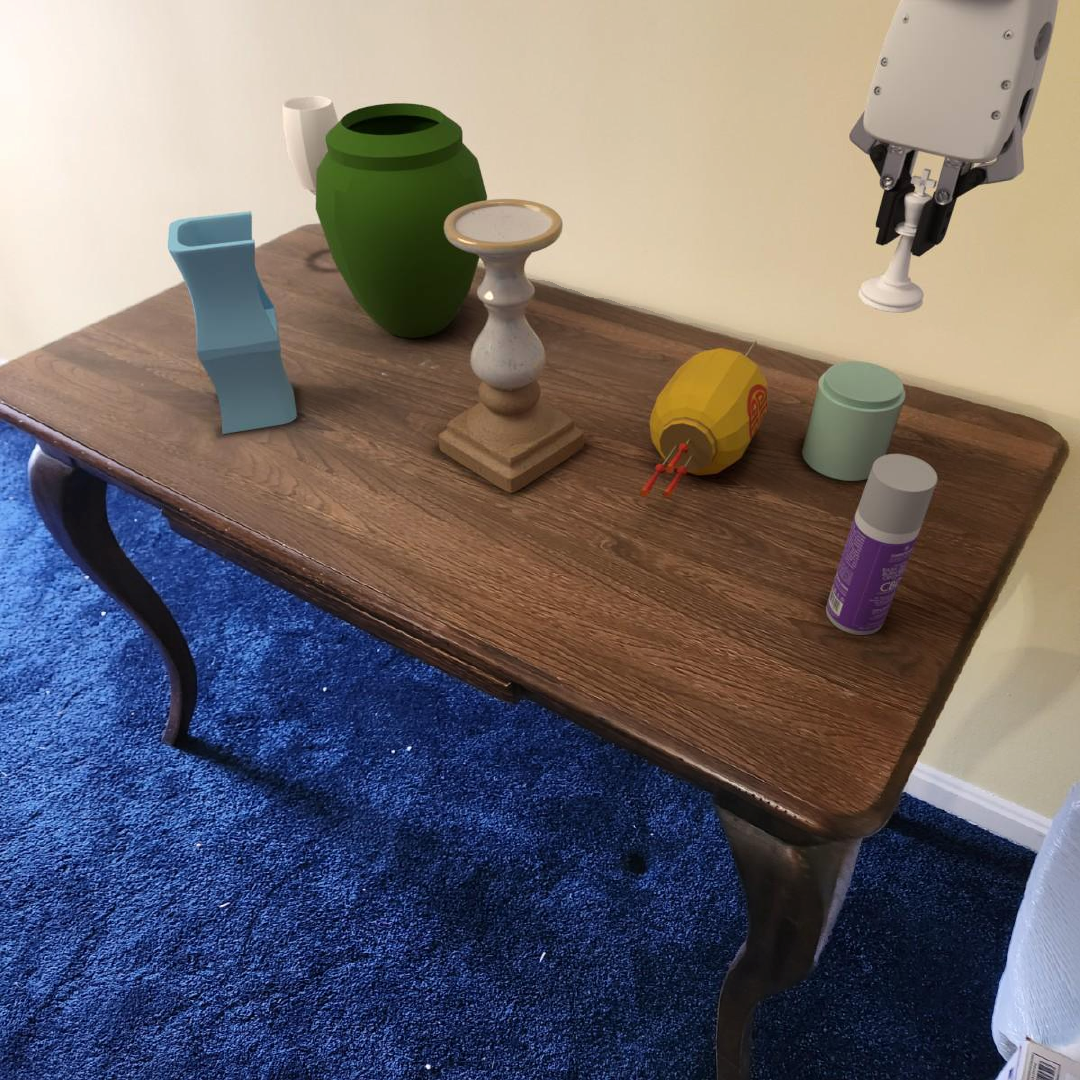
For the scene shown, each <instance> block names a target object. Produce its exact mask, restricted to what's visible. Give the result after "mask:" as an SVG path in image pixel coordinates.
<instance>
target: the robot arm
mask: <svg viewBox="0 0 1080 1080" xmlns="http://www.w3.org/2000/svg"><path fill="white" fill-rule="evenodd" d="M1058 5H1059V0H899V2H898V4H897V7H896V10H895V12H894V15H893V16H892V19H891V22H890V25H889V27H888V30H887V32H886V36H885V39H884V42H883V43H882V44H883V45H882V47H881V50H880V53H879V56H878V60H877V63H876V67H875V70H874V73H873V77H872V79H871V82H870V87H869V91H868V94H867V97H866V98H867V99H866V103H865V108H864V111H863V112H862V113H861V115H860V117H859V118H858V120H857V121H856V123H855V124H854V126H853V127H852V129H851V130H850V132H849V140H850V141H851V143H852V144H853V145H855V146H856V147H857V148H859V149H860V151H862V152H863V153H864V154H865V155H868V156H869V158H870V161H871V163H872V164H873V166H874V168H875V170H876V172H877V174H878V176H879V187H880V188H881V189H882V190H883V194H882V196H881V201H880V204H879V209H878V213H877V216H876V220H875V228H878V232H877V235H876V239H875V244H876V245H879V246H883V247H884V246H886V245H888V244H889V243H891V242H892V241H894V240H896V239H897V238H899V237H901V234H899V233H897V232H896V231H895V227H896V226H897V224H899V223H902V222H905V205H904V197H905V195H906V194H908V193H911V192H916V186H915V184H912V183H911V179H912V177H913V172H914V169H915V165H916V162H917V158H918V155H919V152H920V153H925V154H929V155H934V156H939V157H942V158H944V159H943V163H942V167H941V170H940V174H939V177H938V180H937V183H936V188H935V190H934V191H933V193H932V199H930V200H929V201H927V202H926V203H925V204H924V206H923V210H922V213H921V216H920V220H919V223H918V227H917V230H916V233H915V237H914V240H913V244H912V247H911V251H910V252H911V256H915V257H918V258H919V257H920V258H921V256H923V255H924V254H926V253H927V252H928V251H930V250H931V249H933V248H934V247H935V246H938V245H940V244H941V243H942V242H943V241H944V238H945V236H946V234H947V231H948V228H949V225H950V221H951V220H952V216H953V213H954V210H955V206H956V204H957V200H958V198H959V197H961V196H963V195H965V194H966V193H968V192H970V191H971V190H973V189H975V188H977V187H979V186H982V185H991V184H996V183H1003V182H1007V181H1008V182H1009V181H1012V180H1014V179H1015V178H1017V177H1018V176H1020V175H1021V174H1022V173H1023V172H1024V170H1025V161H1024V147H1023V145H1024V144H1023V138H1024V136H1025V134H1026V131H1027V128H1028V126H1029V123H1030V120H1031V117H1032V113H1033V111H1034V107H1035V104H1036V100H1037V97H1038V93H1039V90H1040V86H1041V83H1042V78H1043V74H1044V72H1045V68H1046V63H1047V59H1048V55H1049V51H1050V47H1051V41H1052V38H1053V33H1054V29H1055V23H1056V18H1057V12H1058ZM994 160H995V161H994ZM975 164H978V165H976V166H975Z"/></svg>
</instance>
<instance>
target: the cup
mask: <svg viewBox="0 0 1080 1080" xmlns="http://www.w3.org/2000/svg"><path fill="white" fill-rule="evenodd" d="M282 122H283V123H282V124H283V133H284V139H285V146H286V151H287V154H288V157H289V162H290V164H291V166H292V169H293V172H294V173H295V175H296V177H297V179H298V181H299V183H300V185H301V187H302V188H303V189H306V190H307V191H309V192H310V193H311V194H312V195H313V196H316V174H317V168H318V166H319V165H320V163H321V161H322V160H323V158H324V157H325V155H326V153H327V152H328V149H327V144H326V135H327V133H328V132H329V131H330V130H331V129H332V128H333V127H334V126H335V125H336V124H337V123H338V122H339V118H338V115H337V113H336V109H335V106H334V102H333V100H332V99H330V98H329V97H326V96H320V95H304V96H296V97H293V98H290V99H288V100H285V101H284V102H283V103H282Z"/></svg>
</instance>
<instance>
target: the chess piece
mask: <svg viewBox="0 0 1080 1080" xmlns="http://www.w3.org/2000/svg"><path fill="white" fill-rule="evenodd" d="M931 172H932V169H929V168H923V169H922V172H921V176H920V175H912V176H911V177H912V179H911V183H912V184H914V185H916V186H917V190H916V191H914V192H911V193H908V194H906V195H905V197H904V205H905V222H902V223H899V224H897V226H896V227H895V231H896V232H897V233H899V234H901V235H900V238H899V240H898V243H897V246H896V248H895V251H894V253H893V256H892V258H891V260H890V263H889V265H888V268H887V269H886V271H885V273H882V274H881V275H880V276H874V277H871V278H868V279H866V280H865V281H863V283H861V286H860V289H859V291H858V293H857V296H858V298H859V300H860V301H861V302H862V303H863V304H865V305H866V306H868V307H870V308H872V309H874V310H877V311H882V312H886V313H894V314H899V313H900V314H902V313H903V314H904V313H909V312H910V313H911V312H914V311H917V310H918V309H920V308H921V307H922V306H923V302H924V296H925V294H924V291H923V289H922V288H921V287H920V286H919V285H918V284H916V283H915V282H913V281H912V280H911V278H910V277H909V271H910V266H911V265H910V264H911V258H912V253H911V252H910V251H911V247H912V244H913V240H914V237H915V233H916V230H917V227H918V223H919V220H920V216H921V213H922V210H923V206H924V204H925V203H926V202H927V201H929V200H930V199H932V197H933V195H931V194H930V193H929V194H928V193H926V189H927V188H929V189H935V187H937V184H938V180H936V179H931V178H930V176H931Z"/></svg>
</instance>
